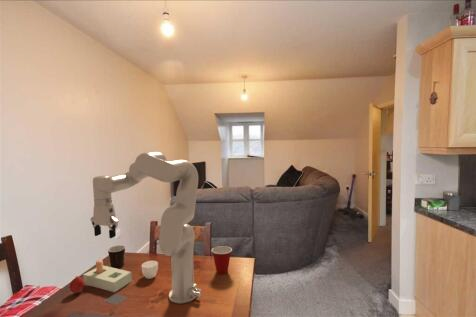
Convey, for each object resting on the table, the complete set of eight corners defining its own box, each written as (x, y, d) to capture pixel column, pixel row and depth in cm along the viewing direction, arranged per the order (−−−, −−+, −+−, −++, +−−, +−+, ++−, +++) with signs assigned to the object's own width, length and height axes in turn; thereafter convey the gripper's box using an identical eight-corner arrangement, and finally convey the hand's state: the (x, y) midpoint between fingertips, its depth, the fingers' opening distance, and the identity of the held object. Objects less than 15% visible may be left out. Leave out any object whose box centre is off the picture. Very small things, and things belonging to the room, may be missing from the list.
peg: (105, 280, 126) (104, 260, 126) (99, 283, 124) (98, 263, 123) (100, 279, 128) (99, 259, 127) (95, 282, 125) (94, 262, 124)
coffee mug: (113, 262, 145) (113, 245, 144) (128, 262, 145) (128, 245, 144) (102, 273, 134) (101, 254, 133) (118, 273, 133) (117, 254, 133)
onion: (68, 298, 112) (66, 280, 112) (72, 290, 118) (71, 274, 117) (83, 295, 114) (82, 278, 113) (86, 288, 119) (85, 272, 119)
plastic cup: (234, 266, 138) (233, 245, 137) (230, 277, 127) (230, 254, 127) (214, 265, 140) (214, 244, 139) (209, 275, 129) (208, 252, 128)
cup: (139, 281, 125) (139, 267, 125) (147, 270, 135) (146, 258, 135) (155, 281, 125) (154, 267, 125) (161, 270, 135) (161, 258, 135)
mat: (128, 298, 112) (128, 297, 112) (117, 306, 106) (116, 305, 106) (114, 294, 115) (114, 293, 115) (103, 301, 109) (103, 301, 109)
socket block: (131, 281, 125) (131, 271, 124) (114, 293, 115) (114, 282, 115) (102, 274, 132) (101, 264, 132) (83, 284, 123) (83, 274, 123)
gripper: (122, 200, 124) (124, 235, 125) (96, 198, 130) (99, 231, 131) (109, 204, 117) (112, 241, 118) (83, 202, 123) (85, 237, 124)
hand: (105, 236), depth 124 cm, fingers open, 9 cm apart
